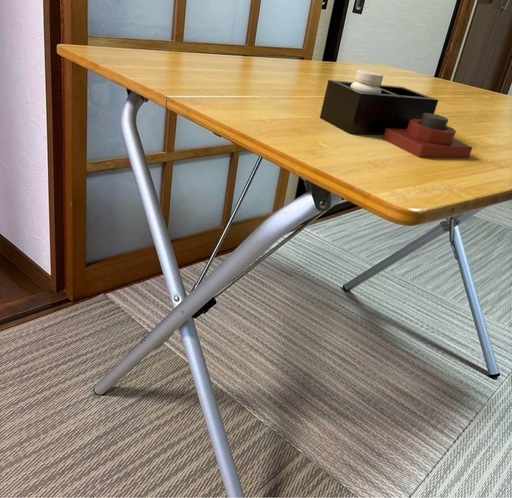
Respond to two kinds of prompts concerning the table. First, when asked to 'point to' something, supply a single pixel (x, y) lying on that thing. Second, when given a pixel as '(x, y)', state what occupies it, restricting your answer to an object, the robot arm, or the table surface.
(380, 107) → the black divided box
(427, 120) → the button
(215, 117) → the table surface
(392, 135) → the panel
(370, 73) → the pill bottle
